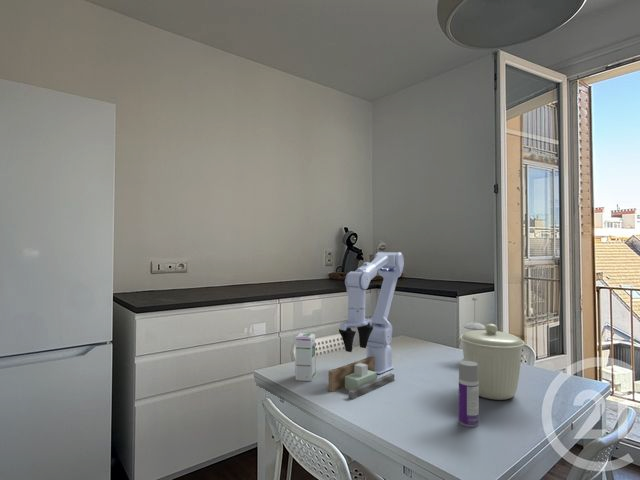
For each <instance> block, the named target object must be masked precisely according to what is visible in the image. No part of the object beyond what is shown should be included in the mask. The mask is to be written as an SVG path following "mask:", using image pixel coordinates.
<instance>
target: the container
mask: <svg viewBox="0 0 640 480" xmlns="http://www.w3.org/2000/svg"><path fill="white" fill-rule="evenodd" d="M479 397H480V396H479V381H478V364H477V363H476V362H472V361H459V363H458V423H459V424H460V425H462V426H465V427H468V428H477V427H478V426H479V423H480V422H479V421H480V419H479V418H480V416H479V410H480V409H479V408H480V407H479V406H480V405H479V403H480V402H479Z"/></svg>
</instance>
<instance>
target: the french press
mask: <svg viewBox="0 0 640 480" xmlns="http://www.w3.org/2000/svg"><path fill="white" fill-rule="evenodd" d="M471 298H472V299H471V300H472V301H474V302H473V303H474V304H473V305H474V307H473V309H474V320H473V322H466V323H465V324H464V325H463V328H465V329H467V330H471V331H474V330H485V326H486V325H484V324H482V323H480V322H476V301H478V298H477V297H475V296H474V297H471ZM461 361H464V358H462V359H461Z"/></svg>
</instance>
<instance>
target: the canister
mask: <svg viewBox="0 0 640 480" xmlns="http://www.w3.org/2000/svg"><path fill="white" fill-rule="evenodd" d="M484 326H485V329H483V330H469V331H466V332H464V333H463V334H461V335H460V336H459V340H461V343H462V344H461V345H462V346H461V347H462V354H463V355H462V356H463V359H464V361H472V362H476V363H477V364H478V381H479V397H481V398H485V399H489V400H496V401H497V400H499V401H500V400H501V401H502V400H508V399H512V398H513V397H514V396H515V395H516V393H517V392H518V391H517V389H518V385H519V381H520V380H519V378H520V371H521V370H520V369H521V364H522V355H523V347H525V345H526V342H525V341H524V340H522V339H521V338H520V337H518V336H516V335H515V334H512V333H508V332H503V331H499V330H498V326H497V325H496V324H494V323H487V324H486V325H484Z"/></svg>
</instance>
